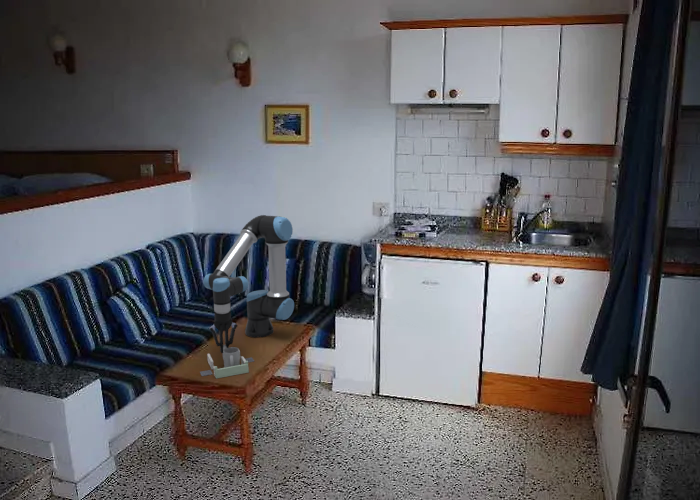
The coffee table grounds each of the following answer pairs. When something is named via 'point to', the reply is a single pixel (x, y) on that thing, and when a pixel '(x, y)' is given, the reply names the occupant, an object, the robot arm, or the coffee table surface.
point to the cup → (231, 357)
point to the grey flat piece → (228, 368)
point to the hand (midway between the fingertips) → (224, 358)
